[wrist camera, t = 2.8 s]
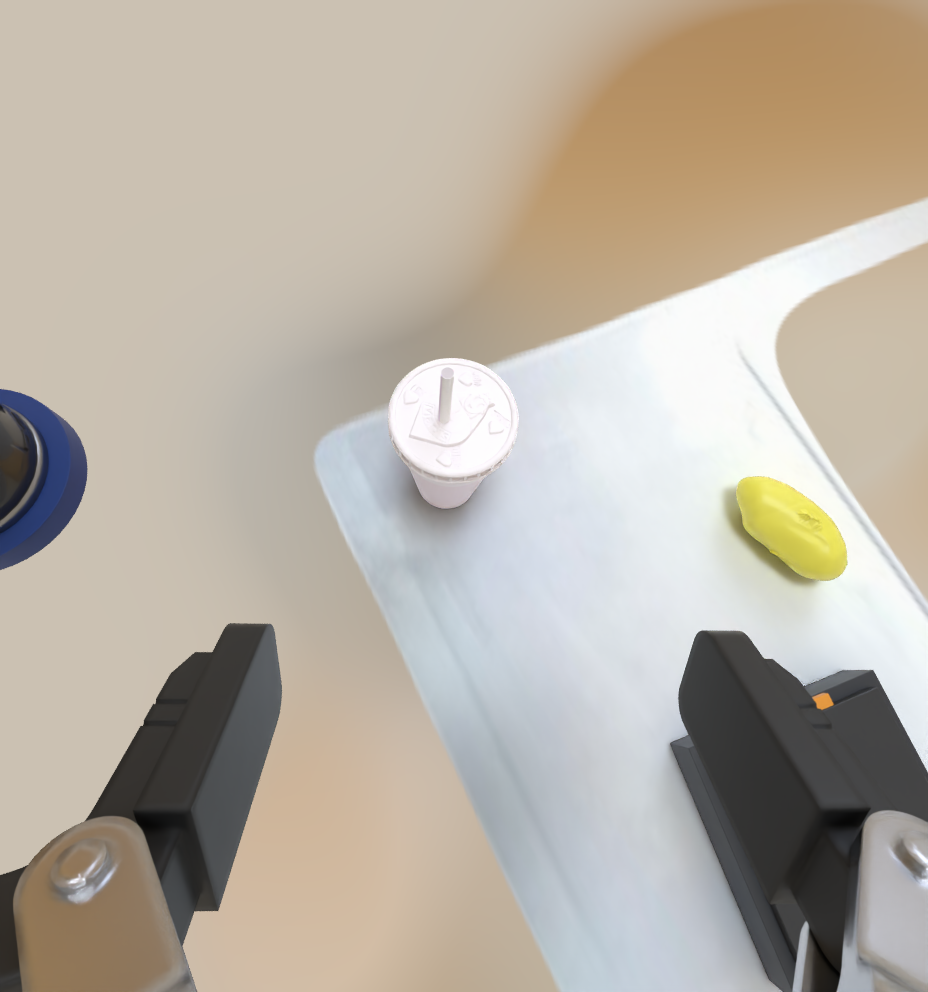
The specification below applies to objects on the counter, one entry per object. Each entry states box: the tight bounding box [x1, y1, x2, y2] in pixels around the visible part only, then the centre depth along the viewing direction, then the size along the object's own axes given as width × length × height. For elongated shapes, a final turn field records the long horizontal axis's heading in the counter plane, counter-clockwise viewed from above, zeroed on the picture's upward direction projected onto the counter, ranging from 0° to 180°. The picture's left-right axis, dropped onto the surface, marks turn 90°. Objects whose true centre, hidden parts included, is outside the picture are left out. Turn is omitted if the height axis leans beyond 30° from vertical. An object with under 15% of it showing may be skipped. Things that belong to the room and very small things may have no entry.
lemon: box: [736, 476, 847, 581], centre depth 35 cm, size 4×8×4 cm, turn 38°
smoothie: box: [388, 358, 519, 509], centre depth 29 cm, size 6×6×14 cm
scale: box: [670, 670, 928, 992], centre depth 30 cm, size 12×12×3 cm
